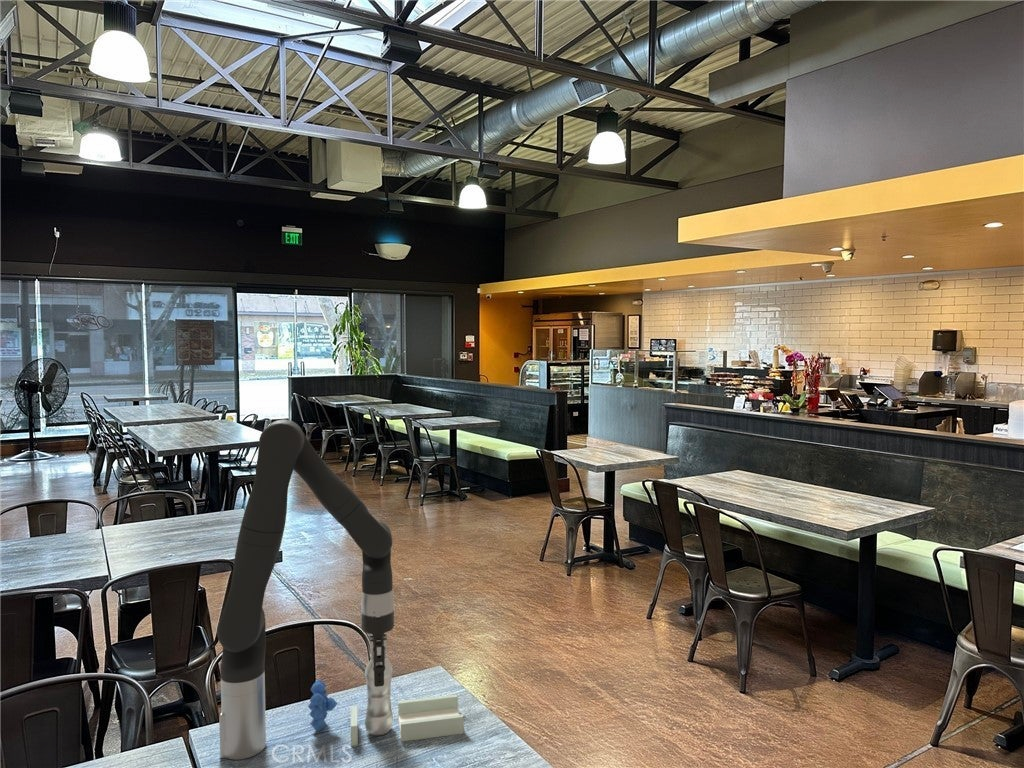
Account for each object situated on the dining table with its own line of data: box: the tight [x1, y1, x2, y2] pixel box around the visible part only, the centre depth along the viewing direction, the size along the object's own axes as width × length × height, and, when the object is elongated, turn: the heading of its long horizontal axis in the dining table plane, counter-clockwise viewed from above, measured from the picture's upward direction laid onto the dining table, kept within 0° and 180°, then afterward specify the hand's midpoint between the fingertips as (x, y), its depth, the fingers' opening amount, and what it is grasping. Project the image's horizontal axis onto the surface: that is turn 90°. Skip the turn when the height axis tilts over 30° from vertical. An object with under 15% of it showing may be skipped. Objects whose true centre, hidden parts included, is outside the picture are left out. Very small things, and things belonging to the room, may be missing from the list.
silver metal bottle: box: [364, 645, 394, 736], centre depth 160 cm, size 6×7×20 cm
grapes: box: [307, 679, 338, 732], centre depth 161 cm, size 12×7×12 cm, turn 11°
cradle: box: [397, 694, 465, 742], centre depth 163 cm, size 14×11×4 cm
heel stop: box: [350, 705, 359, 746], centre depth 159 cm, size 2×9×4 cm, turn 13°
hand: (378, 678), depth 160 cm, fingers closed on silver metal bottle, 6 cm apart
